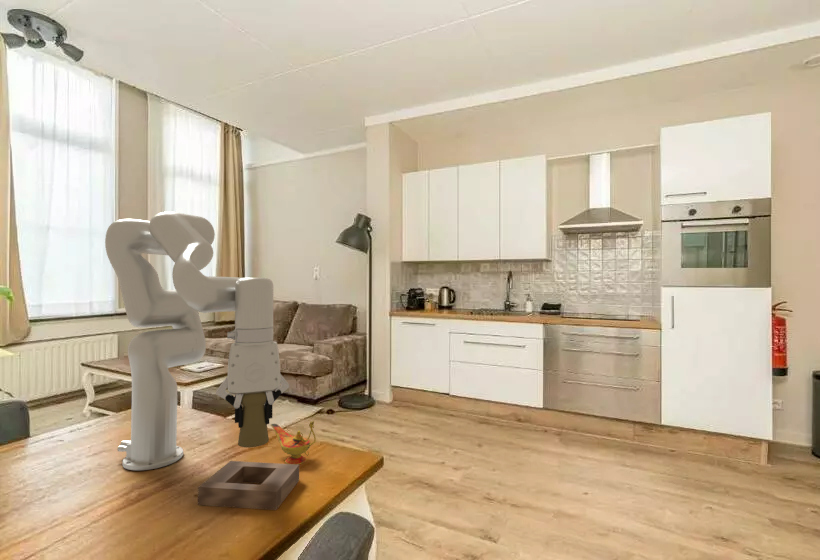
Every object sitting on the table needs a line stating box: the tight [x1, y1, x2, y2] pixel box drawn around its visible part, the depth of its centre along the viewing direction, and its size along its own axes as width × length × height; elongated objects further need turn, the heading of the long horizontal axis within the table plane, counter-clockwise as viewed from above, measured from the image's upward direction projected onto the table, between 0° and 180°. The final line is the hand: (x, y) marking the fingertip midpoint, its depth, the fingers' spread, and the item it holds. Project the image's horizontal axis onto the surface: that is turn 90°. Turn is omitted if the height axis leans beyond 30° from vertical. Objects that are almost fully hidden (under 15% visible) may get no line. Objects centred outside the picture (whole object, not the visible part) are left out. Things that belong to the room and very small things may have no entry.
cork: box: [237, 392, 269, 449], centre depth 85 cm, size 6×6×11 cm
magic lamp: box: [270, 420, 317, 465], centre depth 102 cm, size 7×18×11 cm, turn 52°
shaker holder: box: [197, 460, 300, 511], centre depth 85 cm, size 16×12×4 cm
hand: (253, 423), depth 85 cm, fingers closed on cork, 4 cm apart
